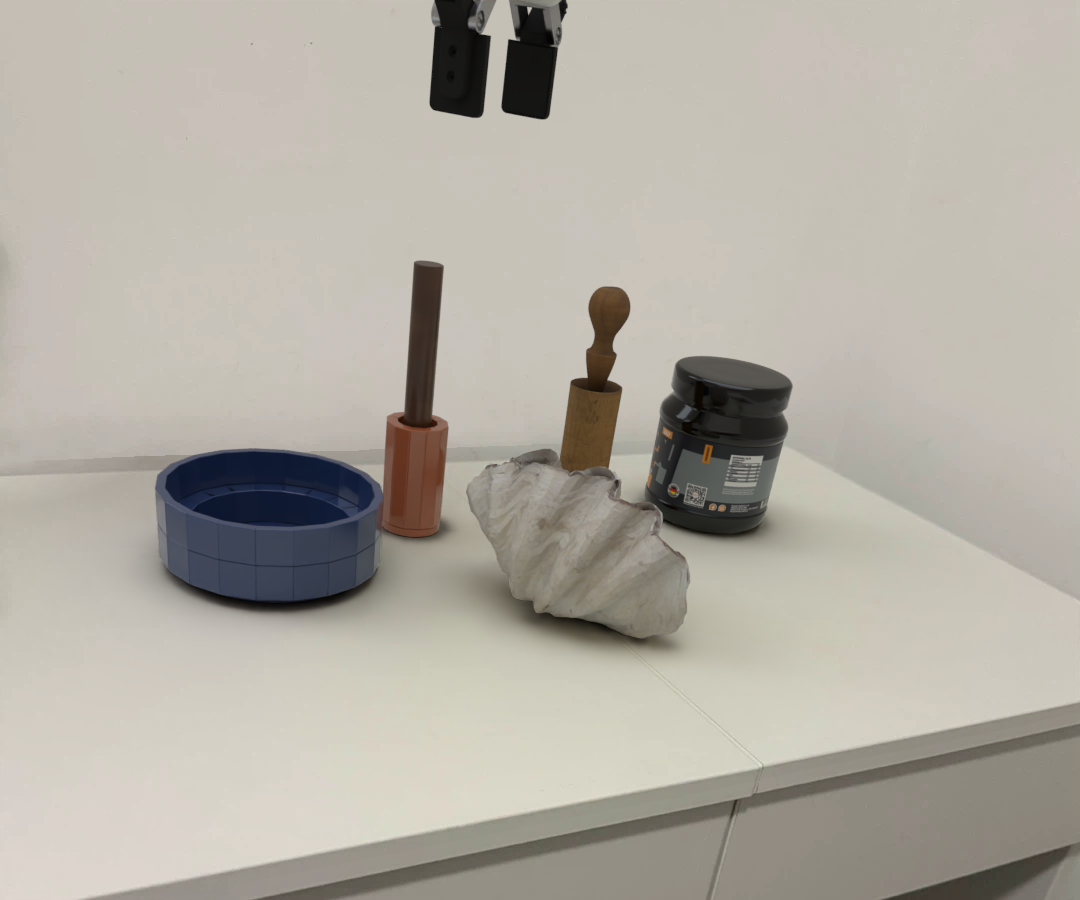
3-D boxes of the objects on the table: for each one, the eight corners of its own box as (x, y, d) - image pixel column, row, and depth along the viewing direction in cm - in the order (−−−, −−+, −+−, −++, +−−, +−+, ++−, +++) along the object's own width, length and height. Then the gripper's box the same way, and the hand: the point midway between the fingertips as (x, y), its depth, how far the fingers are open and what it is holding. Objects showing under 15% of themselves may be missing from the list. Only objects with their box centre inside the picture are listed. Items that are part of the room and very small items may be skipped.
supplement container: (678, 481, 97) (706, 347, 90) (782, 518, 92) (820, 379, 86) (618, 507, 89) (645, 363, 83) (729, 549, 85) (766, 399, 78)
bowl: (112, 570, 68) (105, 488, 65) (247, 506, 79) (246, 434, 76) (303, 634, 64) (304, 550, 61) (415, 557, 75) (421, 483, 72)
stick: (392, 518, 79) (408, 262, 70) (405, 510, 81) (422, 259, 71) (416, 525, 79) (435, 268, 69) (428, 517, 80) (449, 264, 71)
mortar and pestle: (524, 529, 82) (557, 285, 73) (544, 502, 88) (576, 272, 78) (607, 547, 82) (651, 303, 72) (621, 519, 87) (664, 288, 77)
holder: (369, 526, 79) (375, 420, 75) (398, 509, 82) (405, 407, 78) (422, 542, 78) (430, 435, 74) (449, 524, 81) (458, 421, 77)
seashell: (557, 556, 79) (577, 424, 74) (693, 646, 69) (727, 502, 64) (440, 576, 73) (453, 435, 68) (571, 678, 64) (597, 523, 58)
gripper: (530, -222, 63) (496, 107, 72) (382, -323, 49) (363, 101, 58) (649, -211, 61) (598, 126, 70) (530, -312, 47) (486, 125, 56)
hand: (492, 115), depth 64 cm, fingers open, 9 cm apart
